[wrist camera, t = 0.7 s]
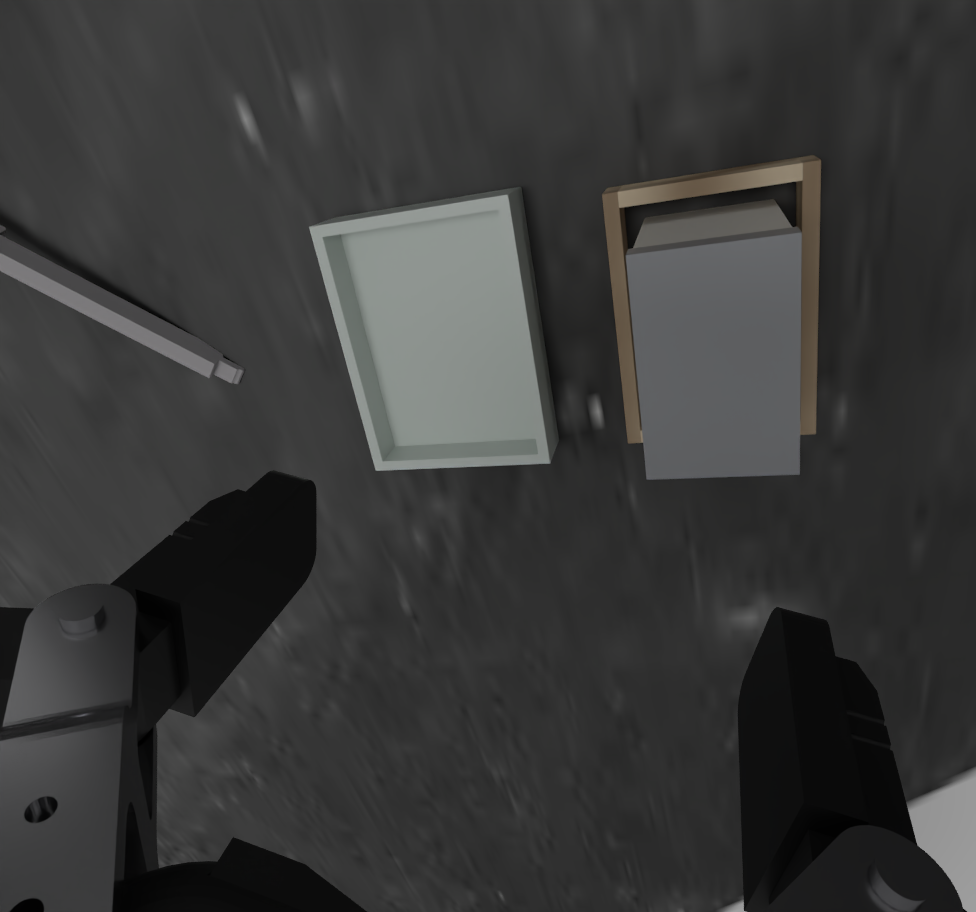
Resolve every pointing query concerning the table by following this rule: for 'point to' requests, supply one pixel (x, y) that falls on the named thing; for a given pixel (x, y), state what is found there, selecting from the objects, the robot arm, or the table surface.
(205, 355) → the caliper
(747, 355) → the gray rectangular box
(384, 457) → the tray
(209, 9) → the table surface
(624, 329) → the holder
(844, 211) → the table surface
